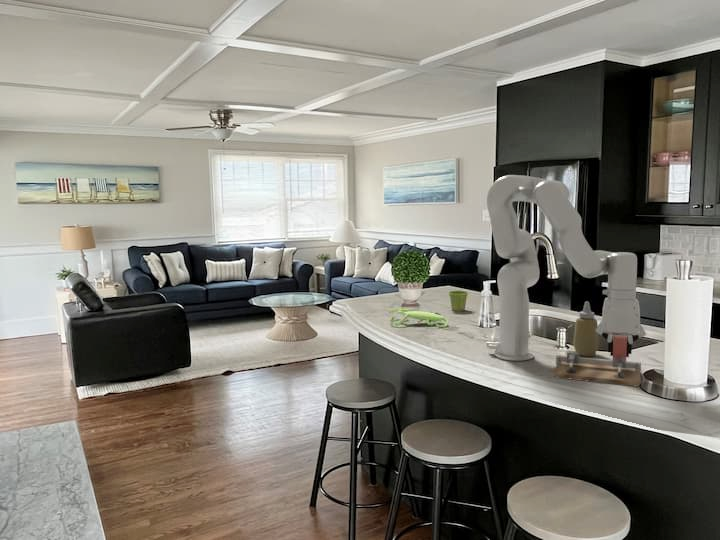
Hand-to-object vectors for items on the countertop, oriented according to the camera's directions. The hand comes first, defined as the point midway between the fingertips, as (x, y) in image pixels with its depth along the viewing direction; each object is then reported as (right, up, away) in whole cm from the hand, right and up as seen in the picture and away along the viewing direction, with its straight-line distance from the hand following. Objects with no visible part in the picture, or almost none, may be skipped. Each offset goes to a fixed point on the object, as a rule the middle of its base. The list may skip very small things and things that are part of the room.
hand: (619, 354), depth 167 cm
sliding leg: (-1, -5, -2) cm, 5 cm away
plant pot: (-30, +6, +101) cm, 105 cm away
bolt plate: (-7, -6, 0) cm, 9 cm away
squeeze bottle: (-1, -3, +22) cm, 22 cm away
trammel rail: (-7, -5, 0) cm, 8 cm away
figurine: (-53, +2, +75) cm, 92 cm away
